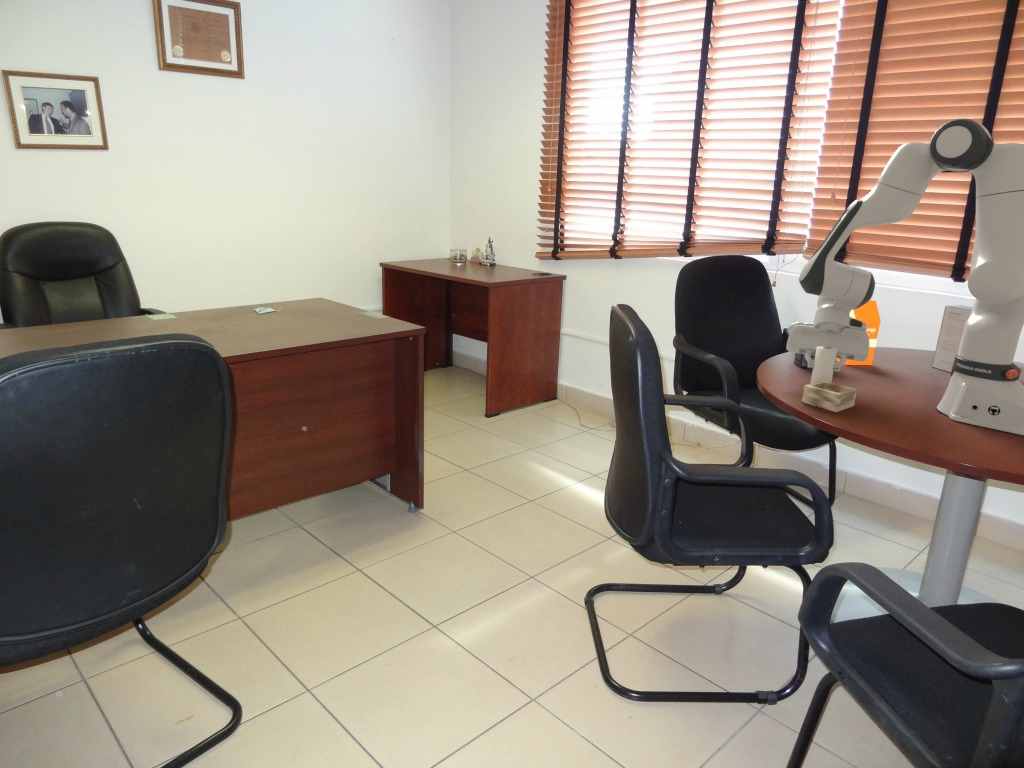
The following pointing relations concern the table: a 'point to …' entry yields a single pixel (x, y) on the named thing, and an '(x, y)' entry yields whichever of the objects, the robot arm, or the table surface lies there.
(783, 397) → the table surface
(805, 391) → the open wooden box
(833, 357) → the paper roll
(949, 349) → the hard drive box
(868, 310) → the orange juice
